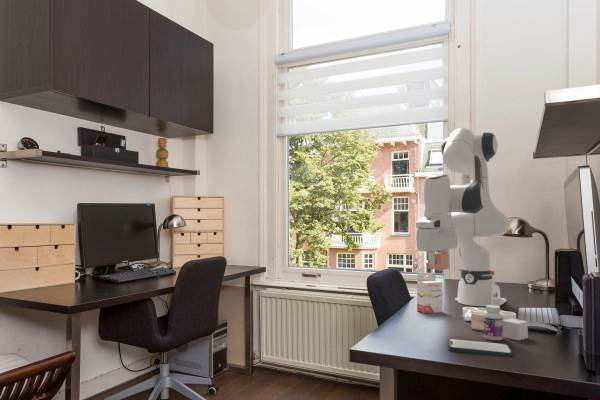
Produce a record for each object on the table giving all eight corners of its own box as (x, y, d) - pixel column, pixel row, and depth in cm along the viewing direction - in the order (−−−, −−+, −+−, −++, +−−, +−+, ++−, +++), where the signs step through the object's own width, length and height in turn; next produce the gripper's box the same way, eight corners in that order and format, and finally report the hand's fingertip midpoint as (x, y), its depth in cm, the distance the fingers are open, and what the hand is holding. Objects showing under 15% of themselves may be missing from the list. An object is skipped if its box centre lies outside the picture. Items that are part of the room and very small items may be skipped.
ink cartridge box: (424, 313, 165) (423, 274, 166) (416, 311, 170) (416, 273, 170) (443, 312, 168) (442, 273, 168) (435, 309, 173) (435, 272, 173)
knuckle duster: (455, 321, 155) (468, 313, 166) (510, 329, 144) (519, 320, 155) (455, 311, 155) (467, 305, 167) (509, 318, 144) (519, 311, 156)
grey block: (512, 334, 136) (511, 318, 136) (527, 338, 132) (527, 321, 132) (502, 336, 133) (502, 320, 134) (518, 340, 129) (517, 323, 129)
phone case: (508, 349, 123) (448, 343, 127) (508, 344, 123) (448, 338, 127) (513, 359, 114) (449, 353, 119) (513, 353, 114) (449, 347, 119)
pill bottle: (479, 336, 133) (479, 305, 134) (493, 335, 135) (492, 303, 136) (493, 341, 128) (492, 308, 129) (507, 339, 130) (506, 307, 130)
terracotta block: (435, 267, 149) (435, 252, 149) (449, 268, 146) (449, 253, 146) (427, 268, 146) (427, 253, 146) (441, 269, 142) (441, 254, 142)
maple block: (474, 325, 147) (474, 310, 147) (490, 327, 144) (490, 312, 144) (471, 329, 143) (471, 313, 143) (487, 331, 140) (487, 315, 140)
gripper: (445, 221, 156) (445, 260, 155) (412, 222, 142) (413, 265, 141) (461, 222, 151) (462, 262, 150) (429, 222, 137) (430, 266, 137)
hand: (438, 263), depth 146 cm, fingers closed on terracotta block, 5 cm apart
